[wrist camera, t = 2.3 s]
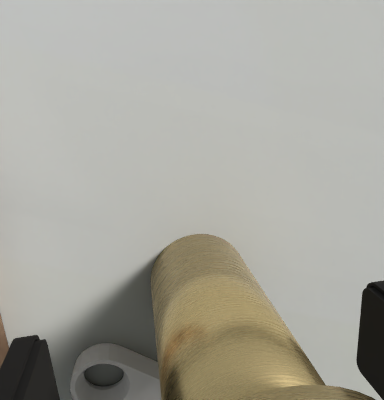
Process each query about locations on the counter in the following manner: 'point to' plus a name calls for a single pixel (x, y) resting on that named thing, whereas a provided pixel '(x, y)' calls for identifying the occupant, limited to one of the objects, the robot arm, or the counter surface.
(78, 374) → the adjustable wrench
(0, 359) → the board
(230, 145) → the counter surface
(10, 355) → the robot arm
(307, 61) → the counter surface
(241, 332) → the bolt
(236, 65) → the counter surface
